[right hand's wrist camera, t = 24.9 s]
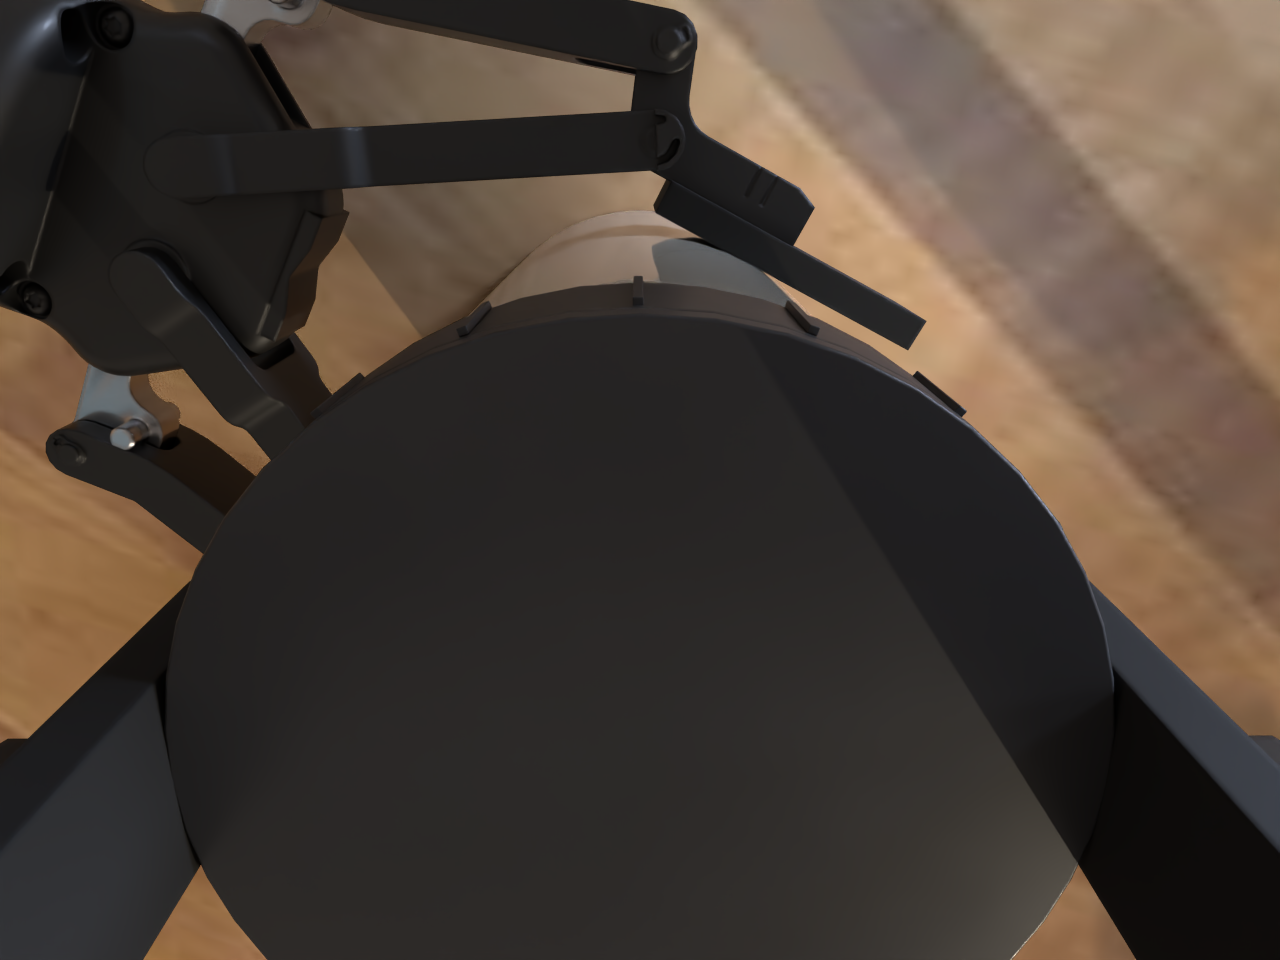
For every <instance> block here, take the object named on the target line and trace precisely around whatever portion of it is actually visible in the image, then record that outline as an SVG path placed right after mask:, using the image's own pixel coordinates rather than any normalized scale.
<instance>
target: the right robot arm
mask: <svg viewBox="0 0 1280 960" xmlns="http://www.w3.org/2000/svg"><path fill="white" fill-rule="evenodd" d="M1088 581H1089V580H1088ZM190 582H191V581H190ZM190 582H189V583H187V584H186V585H185V586H184V587H183V588H182V589H181V590H180V591H179V592H178V593H177V594H176V595H175V596H174V597H173V598H172V599H171V600H170V601H169V602H168V603H167V604H166V605H165V606H164V607H163V608H162V609H161V610H160V611H159V612H158V613H157V614H156V615H155V616H154V617H153V618H152V619H150V620H149V621H148V622H147V623H146V624H145V625H144V626H143V627H142V628H141V629H140V630H139V631H138V632H137V633H136V634H135V635H134V636H133V637H132V638H131V639H130V640H129V641H128V642H127V643H126V644H125V645H124V646H123V647H122V648H121V649H120V650H119V651H118V652H117V653H116V654H114V655H113V656H112V657H111V658H110V659H109V660H108V661H107V662H106V663H105V664H104V665H103V666H102V667H101V668H100V669H99V670H98V671H97V672H96V673H95V674H94V675H93V676H92V677H91V678H90V679H89V680H88V681H87V682H86V683H85V684H84V685H83V686H82V687H81V688H80V689H78V690H77V691H76V692H75V693H74V694H73V695H72V696H71V697H70V698H69V699H68V700H67V701H66V702H65V703H64V704H63V705H62V706H61V707H60V708H59V709H58V710H57V711H56V712H55V713H54V714H53V715H52V716H51V717H50V718H49V719H48V720H47V721H46V722H45V723H44V724H42V725H41V726H40V727H39V728H38V729H37V730H36V731H35V732H34V733H33V734H32V735H31V736H30V737H29V738H28V739H7V740H5V741H3V742H2V743H0V960H143V959H144V957H145V956H146V954H147V952H148V951H149V949H150V947H151V946H152V944H153V942H154V941H155V939H156V938H157V936H158V934H159V933H160V931H161V929H162V928H163V926H164V924H165V923H166V921H167V919H168V918H169V916H170V915H171V913H172V911H173V910H174V908H175V906H176V905H177V903H178V901H179V900H180V898H181V896H182V895H183V893H184V892H185V890H186V888H187V887H188V885H189V883H190V882H191V880H192V878H193V877H194V875H195V873H196V872H197V870H198V869H199V867H200V865H201V863H200V861H199V859H198V857H197V855H196V852H195V850H194V848H193V846H192V844H191V841H190V839H189V837H188V835H187V833H186V830H185V827H184V823H183V820H182V817H181V813H180V809H179V805H178V801H177V796H176V792H175V788H174V784H173V779H172V774H171V769H170V763H169V758H168V753H167V745H166V738H165V692H166V673H167V668H168V663H169V657H170V652H171V647H172V641H173V636H174V631H175V625H176V621H177V618H178V615H179V613H180V610H181V607H182V604H183V602H184V599H185V596H186V593H187V591H188V588H189V585H190ZM1089 584H1090V586H1091V589H1092V592H1093V595H1094V598H1095V601H1096V603H1097V606H1098V609H1099V612H1100V615H1101V618H1102V620H1103V623H1104V627H1105V633H1106V639H1107V644H1108V650H1109V655H1110V661H1111V667H1112V672H1113V678H1114V722H1115V734H1114V742H1113V749H1112V754H1111V759H1110V764H1109V769H1108V775H1107V780H1106V785H1105V789H1104V793H1103V797H1102V802H1101V806H1100V810H1099V814H1098V817H1097V821H1096V824H1095V827H1094V831H1093V834H1092V836H1091V838H1090V840H1089V842H1088V844H1087V847H1086V849H1085V851H1084V853H1083V855H1082V857H1081V859H1080V862H1079V864H1078V865H1079V866H1080V868H1081V869H1082V871H1083V873H1084V874H1085V876H1086V878H1087V879H1088V881H1089V883H1090V884H1091V886H1092V888H1093V889H1094V891H1095V892H1096V894H1097V896H1098V897H1099V899H1100V901H1101V902H1102V904H1103V906H1104V907H1105V909H1106V911H1107V912H1108V914H1109V915H1110V917H1111V919H1112V920H1113V922H1114V924H1115V925H1116V927H1117V929H1118V930H1119V932H1120V934H1121V935H1122V937H1123V938H1124V940H1125V942H1126V943H1127V945H1128V947H1129V948H1130V950H1131V952H1132V953H1133V955H1134V957H1135V958H1136V960H1280V740H1279V739H1277V738H1275V737H1274V736H1248V735H1247V734H1246V733H1245V732H1244V731H1243V730H1242V729H1241V728H1240V727H1239V726H1238V725H1237V724H1236V723H1235V722H1234V721H1233V720H1232V719H1231V718H1230V717H1229V716H1228V715H1227V714H1226V713H1225V712H1224V711H1222V710H1221V709H1220V708H1219V707H1218V706H1217V705H1216V704H1215V703H1214V702H1213V701H1212V700H1211V699H1210V698H1209V697H1208V696H1207V695H1206V694H1205V693H1204V692H1203V691H1202V690H1201V689H1200V688H1199V687H1198V686H1197V685H1196V684H1195V683H1194V682H1193V681H1192V680H1191V679H1190V678H1189V677H1188V676H1187V675H1185V674H1184V673H1183V672H1182V671H1181V670H1180V669H1179V668H1178V667H1177V666H1176V665H1175V664H1174V663H1173V662H1172V661H1171V660H1170V659H1169V658H1168V657H1167V656H1166V655H1165V654H1164V653H1163V652H1162V651H1161V650H1160V649H1159V648H1158V647H1157V646H1156V645H1155V644H1154V643H1153V642H1152V641H1151V640H1149V639H1148V638H1147V637H1146V636H1145V635H1144V634H1143V633H1142V632H1141V631H1140V630H1139V629H1138V628H1137V627H1136V626H1135V625H1134V624H1133V623H1132V622H1131V621H1130V620H1129V619H1128V618H1127V617H1126V616H1125V615H1124V614H1123V613H1122V612H1121V611H1120V610H1119V609H1118V608H1117V607H1116V606H1115V605H1113V604H1112V603H1111V602H1110V601H1109V600H1108V599H1107V598H1106V597H1105V596H1104V595H1103V594H1102V593H1101V592H1100V591H1099V590H1098V589H1097V588H1096V587H1095V586H1094V585H1093V584H1092V583H1091V582H1090V581H1089Z"/></svg>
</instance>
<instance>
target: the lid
mask: <svg viewBox="0 0 1280 960" xmlns="http://www.w3.org/2000/svg"><path fill="white" fill-rule="evenodd" d="M966 412H967V411H966V410H965V409H964V408H963V407H961V406H960V405H959V404H958V403H956V402H955V401H954V400H953V399H952V398H950V397H949V396H948V395H947V394H945V393H944V392H943V391H942V390H941V389H939V388H938V387H937V386H936V385H934V384H933V383H932V382H931V381H930V380H928V379H927V378H926V377H925V376H923V375H922V374H921V373H920V372H918V371H917V372H916V373H915V374H914V375H913V376H912V375H911V374H909V373H908V372H906V371H905V370H904V369H902V368H901V367H899V366H898V365H897V364H895V363H894V362H892V361H891V360H889V359H888V358H887V357H885V356H884V355H882V354H881V353H880V352H878V351H877V350H875V349H874V348H873V347H871V346H870V345H868V344H866V343H864V342H862V341H860V340H858V339H856V338H854V337H853V336H851V335H849V334H847V333H845V332H843V331H841V330H839V329H837V328H835V327H833V326H831V325H829V324H827V323H825V322H823V321H821V320H820V319H818V318H815V317H812V316H809V315H807V314H806V313H805V312H804V311H803V310H802V309H801V308H800V307H799V306H798V305H797V304H796V303H795V302H792V301H789V300H787V302H786V305H785V307H784V306H781V305H778V304H775V303H772V302H769V301H766V300H764V299H760V298H755V297H751V296H746V295H741V294H736V293H731V292H726V291H722V290H717V289H712V288H707V287H702V286H688V285H673V284H659V283H645V282H643V276H634V279H633V283H622V284H606V285H590V286H578V287H573V288H568V289H563V290H558V291H553V292H548V293H543V294H538V295H533V296H528V297H523V298H519V299H516V300H514V301H511V302H508V303H505V304H502V305H499V306H496V307H493V308H492V306H491V304H490V301H487V302H484V303H482V304H481V305H480V306H479V307H478V308H477V309H476V310H475V311H474V312H473V313H472V314H471V315H470V316H467V317H464V318H462V319H460V320H458V321H456V322H454V323H452V324H450V325H449V326H447V327H445V328H443V329H441V330H439V331H437V332H435V333H433V334H431V335H429V336H427V337H425V338H423V339H421V340H419V341H417V342H415V343H413V344H412V345H410V346H409V347H407V348H406V349H404V350H403V351H401V352H400V353H399V354H397V355H396V356H394V357H393V358H391V359H390V360H389V361H387V362H386V363H384V364H383V365H381V366H380V367H378V368H377V369H376V370H374V371H373V372H371V373H370V374H368V375H367V376H366V377H364V376H363V375H362V374H361V373H359V374H357V375H356V376H355V377H354V378H352V379H351V380H350V381H349V382H347V383H346V384H345V385H344V386H343V387H341V388H340V389H339V390H338V391H336V392H335V393H334V394H333V395H332V396H330V397H329V398H328V399H327V400H325V401H324V402H323V403H322V404H321V405H319V406H318V407H317V408H316V409H315V410H313V411H312V412H311V413H310V414H311V415H312V416H313V417H314V418H315V420H314V421H313V422H312V423H311V424H309V425H308V426H307V427H306V428H305V429H304V430H303V431H302V432H301V433H300V434H299V435H298V436H297V437H295V438H294V439H293V440H292V441H291V442H290V443H289V444H288V445H287V446H286V447H285V448H284V449H283V450H282V451H281V452H279V453H278V454H277V455H276V456H275V457H274V458H273V459H272V460H271V461H270V462H269V463H268V464H267V465H266V466H265V467H263V468H262V470H261V471H260V472H259V473H258V475H257V476H256V477H255V479H254V480H253V481H252V482H251V484H250V485H249V486H248V487H247V489H246V490H245V491H244V493H243V494H242V495H241V496H240V498H239V499H238V500H237V502H236V503H235V504H234V505H233V507H232V508H231V509H230V510H229V512H228V513H227V514H226V516H225V517H224V518H223V520H222V522H221V523H220V524H219V525H218V527H217V529H216V531H215V535H214V536H213V538H212V540H211V542H210V544H209V545H208V547H207V549H206V551H205V553H204V554H203V556H202V558H201V560H200V561H199V563H198V565H197V567H196V569H195V571H194V574H193V577H192V580H191V582H190V585H189V588H188V591H187V593H186V596H185V599H184V602H183V604H182V607H181V610H180V613H179V615H178V618H177V621H176V625H175V631H174V636H173V641H172V647H171V652H170V657H169V663H168V668H167V673H166V692H165V738H166V745H167V753H168V758H169V763H170V769H171V774H172V779H173V784H174V788H175V792H176V796H177V801H178V805H179V809H180V813H181V817H182V820H183V823H184V827H185V830H186V833H187V835H188V837H189V839H190V841H191V844H192V846H193V848H194V850H195V852H196V855H197V857H198V859H199V861H200V863H201V865H202V868H203V870H204V872H205V874H206V876H207V878H208V880H209V881H210V883H211V884H212V886H213V888H214V889H215V891H216V892H217V894H218V895H219V897H220V899H221V900H222V902H223V903H224V905H225V906H226V908H227V910H228V911H229V913H230V914H231V916H232V917H233V919H234V920H235V922H236V923H237V924H238V925H239V926H240V928H241V929H242V930H243V931H244V932H245V934H246V935H247V936H248V937H249V938H250V940H251V941H252V942H253V943H254V944H255V946H256V947H257V948H258V949H259V950H260V952H261V953H262V954H263V955H264V956H265V958H266V959H267V960H1012V959H1013V958H1014V956H1015V955H1016V954H1017V953H1018V952H1019V951H1020V949H1021V948H1022V947H1023V946H1024V945H1025V943H1026V942H1027V941H1028V940H1029V939H1030V938H1031V936H1032V935H1033V934H1034V933H1035V932H1036V930H1037V929H1038V928H1039V927H1040V926H1041V925H1042V923H1043V922H1044V921H1045V919H1046V918H1047V916H1048V915H1049V913H1050V911H1051V910H1052V908H1053V907H1054V905H1055V904H1056V902H1057V901H1058V899H1059V898H1060V896H1061V894H1062V893H1063V891H1064V890H1065V888H1066V887H1067V885H1068V884H1069V882H1070V880H1071V879H1072V877H1073V874H1074V872H1075V870H1076V868H1077V866H1078V864H1079V862H1080V859H1081V857H1082V855H1083V853H1084V851H1085V849H1086V847H1087V844H1088V842H1089V840H1090V838H1091V836H1092V834H1093V831H1094V827H1095V824H1096V821H1097V817H1098V814H1099V810H1100V806H1101V802H1102V797H1103V793H1104V789H1105V785H1106V780H1107V775H1108V769H1109V764H1110V759H1111V754H1112V749H1113V742H1114V734H1115V722H1114V678H1113V672H1112V667H1111V661H1110V655H1109V650H1108V644H1107V639H1106V633H1105V627H1104V623H1103V620H1102V618H1101V615H1100V612H1099V609H1098V606H1097V603H1096V601H1095V598H1094V595H1093V592H1092V589H1091V586H1090V584H1089V581H1088V578H1087V575H1086V572H1085V570H1084V568H1083V567H1082V565H1081V563H1080V561H1079V559H1078V557H1077V556H1076V554H1075V552H1074V550H1073V548H1072V546H1071V545H1070V543H1069V541H1068V539H1067V537H1066V535H1065V534H1064V532H1063V528H1062V526H1061V524H1060V523H1059V522H1058V521H1057V519H1056V518H1055V517H1054V515H1053V514H1052V513H1051V511H1050V510H1049V509H1048V507H1047V506H1046V505H1045V504H1044V502H1043V501H1042V500H1041V498H1040V497H1039V496H1038V495H1037V493H1036V492H1035V491H1034V489H1033V488H1032V487H1031V485H1030V484H1029V483H1028V482H1027V480H1026V479H1025V478H1024V476H1023V475H1022V474H1021V472H1020V471H1019V470H1018V469H1017V468H1016V467H1015V466H1014V465H1013V464H1011V463H1010V462H1009V461H1008V460H1007V459H1006V458H1005V457H1004V456H1003V455H1002V454H1001V453H1000V452H999V451H998V450H997V449H996V448H995V447H994V446H993V445H992V444H990V443H989V442H988V441H987V440H986V439H985V438H984V437H983V436H982V435H981V434H980V433H979V432H978V431H977V430H976V429H975V428H974V427H973V426H971V425H970V424H969V423H968V422H967V421H966V420H964V419H963V418H962V416H963V415H964V414H965V413H966Z"/></svg>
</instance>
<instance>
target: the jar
mask: <svg viewBox="0 0 1280 960" xmlns="http://www.w3.org/2000/svg"><path fill="white" fill-rule="evenodd" d="M634 276H643V282H645V283H659V284H673V285H688V286H702V287H707V288H712V289H717V290H722V291H726V292H731V293H736V294H741V295H746V296H751V297H755V298H760V299H764V300H766V301H769V302H772V303H775V304H778V305H781V306H784V307H785V305H786V302H787V300H789V301H792V302H795V303H796V304H797V305H798V306H799V307H800V308H801V309H802V310H803V311H804V312H805V313H806V314H807V315H809V316H812V315H811V314H810V313H809V312H808V311H807V310H806V309H805V308H804V307H803V306H802V305H801V304H800V303H799V302H798V301H797V300H796V299H795V298H794V297H793V296H792V295H791V294H790V293H789V292H788V291H787V290H786V289H785V288H784V287H783V286H782V285H781V284H780V283H779V282H778V281H777V280H776V279H775V278H774V277H772V276H770V275H768V274H767V273H765V272H763V271H761V270H759V269H757V268H756V267H754V266H752V265H750V264H748V263H746V262H744V261H743V260H741V259H739V258H737V257H735V256H733V255H732V254H730V253H728V252H726V251H724V250H722V249H721V248H719V247H717V246H715V245H713V244H711V243H709V242H708V241H706V240H704V239H702V238H700V237H698V236H697V235H695V234H693V233H691V232H689V231H687V230H686V229H684V228H682V227H680V226H678V225H676V224H675V223H673V222H671V221H669V220H667V219H665V218H663V217H662V216H660V215H658V214H656V213H655V211H640V210H636V211H624V212H614V213H610V214H605V215H601V216H596V217H592V218H590V219H587V220H584V221H582V222H579V223H576V224H574V225H572V226H570V227H568V228H566V229H564V230H562V231H560V232H559V233H557V234H555V235H553V236H552V237H550V238H549V239H548V240H546V241H545V242H544V243H542V244H541V245H539V246H538V247H537V248H536V249H535V250H534V251H532V252H531V253H530V254H529V255H528V256H527V257H526V258H525V259H524V260H523V261H522V262H521V263H520V264H519V265H518V266H517V267H516V268H515V269H514V270H513V271H512V272H511V273H510V274H509V275H508V276H507V277H506V278H505V279H504V280H503V281H502V282H501V283H500V284H499V285H498V286H497V287H496V288H495V289H494V290H493V291H492V292H491V293H490V294H489V295H488V296H487V297H486V298H485V299H484V300H483V301H482V302H481V303H480V304H479V305H478V306H477V307H476V308H475V309H474V310H473V311H472V312H471V313H470V314H469V315H468V316H470V315H471V314H472V313H473V312H474V311H475V310H476V309H477V308H478V307H479V306H480V305H481V304H482V303H484V302H487V301H490V304H491V306H492V308H493V307H496V306H499V305H502V304H505V303H508V302H511V301H514V300H516V299H519V298H523V297H528V296H533V295H538V294H543V293H548V292H553V291H558V290H563V289H568V288H573V287H578V286H590V285H606V284H622V283H633V279H634ZM812 317H813V316H812Z"/></svg>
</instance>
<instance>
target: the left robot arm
mask: <svg viewBox="0 0 1280 960" xmlns="http://www.w3.org/2000/svg"><path fill="white" fill-rule="evenodd" d="M333 6H336V7H338V8H340V9H342V10H344V11H347V12H349V13H352V14H354V15H357V16H359V17H362V18H364V19H367V20H371V21H375V22H378V23H382V24H386V25H391V26H395V27H400V28H405V29H410V30H415V31H420V32H425V33H430V34H434V35H439V36H444V37H449V38H454V39H459V40H464V41H469V42H473V43H478V44H483V45H488V46H493V47H498V48H503V49H508V50H512V51H517V52H522V53H527V54H532V55H537V56H542V57H546V58H551V59H556V60H561V61H566V62H571V63H576V64H581V65H585V66H590V67H595V68H600V69H605V70H610V71H615V72H620V73H624V74H629V75H634V76H635V82H634V90H633V99H632V107H631V111H625V112H608V113H591V114H574V115H557V116H539V117H522V118H505V119H488V120H471V121H454V122H437V123H420V124H402V125H385V126H368V127H338V128H320V129H312V128H311V127H310V125H309V123H308V121H307V120H306V118H305V116H304V115H303V113H302V111H301V109H300V108H299V106H298V104H297V103H296V101H295V99H294V98H293V96H292V94H291V92H290V91H289V89H288V87H287V86H286V84H285V82H284V80H283V79H282V77H281V75H280V74H279V72H278V70H277V68H276V67H275V65H274V63H273V62H272V60H271V58H270V56H269V55H268V53H267V51H266V50H265V48H264V47H263V45H262V44H261V41H262V39H263V38H264V36H265V34H266V33H267V32H268V31H270V30H271V29H272V28H274V27H277V26H280V25H289V26H292V27H296V28H299V29H303V30H312V29H315V28H317V27H319V26H321V25H322V24H323V23H324V22H325V21H326V19H327V18H328V16H329V14H330V12H331V9H332V7H333ZM696 50H697V33H696V30H695V28H694V25H693V23H692V22H691V21H690V20H689V18H688V17H687V16H686V15H685V14H683V13H681V12H678V11H676V10H673V9H669V8H664V7H659V6H654V5H650V4H645V3H640V2H635V1H631V0H205V2H204V5H203V8H202V10H201V13H200V12H164V11H161V10H159V9H157V8H154V7H152V6H151V5H149V4H147V3H145V2H143V1H141V0H0V306H1V307H4V308H6V309H9V310H12V311H15V312H18V313H21V314H24V315H27V316H30V317H32V318H35V319H37V320H40V321H42V322H44V323H45V324H47V325H49V326H50V327H51V328H53V329H54V330H55V331H57V332H58V333H59V334H60V335H61V336H62V337H63V338H64V339H65V340H66V341H67V342H68V343H69V344H70V345H71V346H72V347H73V348H74V350H75V351H76V352H77V353H78V354H79V355H80V356H81V357H82V358H83V359H84V360H85V361H86V362H87V363H89V365H88V369H87V373H86V377H85V381H84V385H83V389H82V393H81V397H80V401H79V405H78V409H77V413H76V417H75V419H74V421H73V422H72V423H71V424H69V425H67V426H65V427H63V428H61V429H58V430H57V431H55V432H54V433H52V434H51V435H50V436H49V438H48V440H47V442H46V454H47V456H48V459H49V461H50V462H51V463H52V464H53V466H54V467H55V468H56V469H58V470H59V471H61V472H63V473H64V474H66V475H69V476H71V477H74V478H77V479H79V480H82V481H84V482H87V483H89V484H92V485H95V486H97V487H100V488H102V489H105V490H107V491H110V492H113V493H115V494H118V495H120V496H123V497H125V498H128V499H131V500H133V501H135V502H136V503H138V504H139V505H140V506H142V507H143V508H144V509H146V510H147V511H148V512H149V513H151V514H152V515H153V516H155V517H156V518H157V519H159V520H160V521H161V522H163V523H164V524H165V525H166V526H168V527H169V528H170V529H172V530H173V531H174V532H176V533H177V534H178V535H179V536H181V537H182V538H183V539H185V540H186V541H187V542H189V543H190V544H191V545H193V546H194V547H195V548H196V549H198V550H199V551H200V552H202V553H203V554H204V553H205V551H206V549H207V547H208V545H209V544H210V542H211V540H212V538H213V536H214V535H215V531H216V529H217V527H218V525H219V524H220V523H221V522H222V520H223V518H224V517H225V516H226V514H227V513H228V512H229V510H230V509H231V508H232V507H233V505H234V504H235V503H236V502H237V500H238V499H239V498H240V496H241V495H242V494H243V493H244V491H245V490H246V489H247V487H248V486H249V485H250V484H251V482H252V481H253V480H254V479H255V477H256V476H255V475H253V474H252V473H251V472H250V471H248V470H247V469H246V468H245V467H243V466H242V465H241V464H240V463H239V462H237V461H236V460H235V459H234V458H232V457H231V456H230V455H229V454H227V453H226V452H225V451H224V450H222V449H221V448H220V447H218V446H217V445H215V444H214V443H213V442H211V441H210V440H209V439H207V438H205V437H204V436H202V435H200V434H199V433H197V432H195V431H193V430H192V429H190V428H187V427H185V426H183V425H181V424H179V418H180V411H179V408H178V407H177V406H176V405H175V404H173V403H171V402H165V401H164V400H162V399H161V398H160V397H158V396H157V395H156V394H155V392H154V391H153V390H152V388H151V386H150V384H149V379H148V374H150V373H157V372H164V371H170V370H177V369H184V370H185V372H186V373H187V374H188V375H189V377H190V378H191V379H192V380H193V382H194V383H195V384H196V385H197V387H198V388H199V389H200V390H201V391H202V393H203V394H204V395H205V396H206V398H207V399H208V400H209V401H210V403H211V404H212V405H213V406H214V407H215V409H216V410H217V411H218V412H219V414H220V415H221V416H222V417H223V418H224V419H225V420H226V421H227V422H229V423H230V424H232V425H234V426H237V427H241V428H243V429H245V430H246V431H247V432H248V433H249V434H250V435H251V436H252V437H253V438H254V440H255V441H256V442H257V443H258V445H259V446H260V447H261V448H262V450H263V451H264V452H265V453H266V455H267V456H268V457H269V458H270V459H271V460H272V459H273V458H274V457H275V456H276V455H277V454H278V453H279V452H281V451H282V450H283V449H284V448H285V447H286V446H287V445H288V444H289V443H290V442H291V441H292V440H293V439H294V438H295V437H297V436H298V435H299V434H300V433H301V432H302V431H303V430H304V429H305V428H306V427H307V426H308V425H309V424H311V423H312V422H313V421H314V420H315V418H314V417H313V416H312V415H311V414H310V413H311V412H312V411H313V410H315V409H316V408H317V407H318V406H319V405H321V404H322V403H323V402H324V401H325V400H327V399H328V398H329V397H330V396H332V394H331V393H330V391H329V390H328V389H327V388H326V386H325V385H324V384H323V382H322V380H321V379H320V376H319V370H318V366H317V363H316V361H315V360H314V358H313V356H312V355H311V354H310V352H309V351H308V350H307V348H306V347H305V346H304V344H303V343H302V342H301V340H300V339H299V338H298V336H297V335H296V334H295V331H296V330H298V329H300V328H302V327H304V326H305V324H306V321H307V319H308V316H309V314H310V311H311V309H312V306H313V304H314V301H315V297H316V287H317V277H318V268H319V265H320V264H321V262H322V261H323V260H324V259H325V257H326V256H327V255H328V254H329V252H330V251H331V250H332V248H333V247H334V246H335V245H336V243H337V242H338V240H339V238H340V235H341V233H342V230H343V228H344V225H345V223H346V220H347V217H348V215H349V212H348V211H346V210H344V209H343V192H342V189H347V188H360V187H373V186H389V185H407V184H424V183H442V182H459V181H477V180H494V179H512V178H529V177H547V176H564V175H582V174H599V173H617V172H634V171H652V172H654V173H656V174H657V175H659V176H661V177H663V178H665V179H666V181H665V183H664V185H663V187H662V189H661V191H660V193H659V195H658V197H657V199H656V201H655V203H654V210H655V213H656V214H658V215H660V216H662V217H663V218H665V219H667V220H669V221H671V222H673V223H675V224H676V225H678V226H680V227H682V228H684V229H686V230H687V231H689V232H691V233H693V234H695V235H697V236H698V237H700V238H702V239H704V240H706V241H708V242H709V243H711V244H713V245H715V246H717V247H719V248H721V249H722V250H724V251H726V252H728V253H730V254H732V255H733V256H735V257H737V258H739V259H741V260H743V261H744V262H746V263H748V264H750V265H752V266H754V267H756V268H757V269H759V270H761V271H763V272H765V273H767V274H768V275H770V276H772V277H774V278H776V279H778V280H779V281H781V282H783V283H785V284H787V285H789V286H790V287H792V288H794V289H796V290H798V291H800V292H802V293H803V294H805V295H807V296H809V297H811V298H813V299H814V300H816V301H818V302H820V303H822V304H824V305H825V306H827V307H829V308H831V309H833V310H835V311H837V312H838V313H840V314H842V315H844V316H846V317H848V318H849V319H851V320H853V321H855V322H857V323H859V324H860V325H862V326H864V327H866V328H868V329H870V330H871V331H873V332H875V333H877V334H879V335H881V336H883V337H884V338H886V339H888V340H890V341H892V342H894V343H895V344H897V345H899V346H901V347H903V348H905V349H906V350H909V348H910V346H911V345H912V343H913V342H914V340H915V339H916V337H917V335H918V334H919V332H920V331H921V329H922V327H923V326H924V324H925V323H926V321H925V320H924V319H922V318H921V317H919V316H917V315H916V314H914V313H912V312H911V311H909V310H908V309H906V308H904V307H903V306H901V305H900V304H898V303H896V302H895V301H893V300H891V299H889V298H887V297H886V296H884V295H882V294H880V293H878V292H877V291H875V290H873V289H871V288H869V287H867V286H866V285H864V284H862V283H860V282H858V281H857V280H855V279H853V278H851V277H849V276H848V275H846V274H844V273H842V272H840V271H839V270H837V269H835V268H833V267H831V266H829V265H828V264H826V263H824V262H822V261H820V260H819V259H817V258H815V257H813V256H811V255H810V254H808V253H806V252H804V251H802V250H800V249H799V248H797V247H795V246H793V245H794V244H795V242H796V240H797V238H798V237H799V235H800V233H801V231H802V229H803V228H804V226H805V224H806V222H807V221H808V219H809V217H810V215H811V213H812V212H813V210H814V208H815V207H814V206H813V205H812V203H811V202H810V201H809V199H808V198H807V197H806V195H805V194H804V193H803V191H802V190H801V189H800V188H799V187H797V186H795V185H793V184H792V183H790V182H788V181H786V180H784V179H783V178H781V177H779V176H777V175H776V174H774V173H772V172H770V171H769V170H767V169H765V168H763V167H761V166H760V165H758V164H756V163H754V162H753V161H751V160H749V159H747V158H745V157H744V156H742V155H740V154H738V153H737V152H735V151H733V150H731V149H730V148H728V147H726V146H724V145H722V144H721V143H719V142H717V141H715V140H714V139H712V138H710V137H708V136H707V135H706V134H704V133H703V132H702V131H701V130H700V129H699V128H698V127H697V125H696V124H695V122H694V120H693V118H692V116H691V112H690V107H689V96H690V88H691V81H692V74H693V67H694V60H695V52H696Z"/></svg>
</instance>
